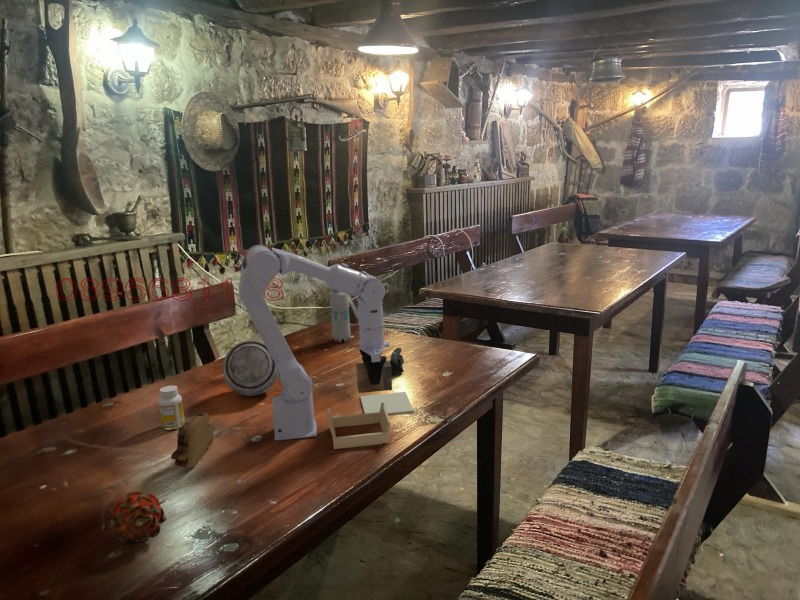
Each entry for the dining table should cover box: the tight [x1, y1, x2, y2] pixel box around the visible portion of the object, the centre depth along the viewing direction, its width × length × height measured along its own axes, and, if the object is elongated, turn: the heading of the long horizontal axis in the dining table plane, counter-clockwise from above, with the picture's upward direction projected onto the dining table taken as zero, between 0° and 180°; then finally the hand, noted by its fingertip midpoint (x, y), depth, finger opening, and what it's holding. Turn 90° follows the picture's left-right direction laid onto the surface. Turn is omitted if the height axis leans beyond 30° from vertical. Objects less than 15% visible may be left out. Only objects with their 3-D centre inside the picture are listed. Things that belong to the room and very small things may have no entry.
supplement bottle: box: [157, 385, 186, 428], centre depth 145 cm, size 5×5×10 cm
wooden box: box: [326, 403, 392, 450], centre depth 138 cm, size 13×11×5 cm
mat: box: [359, 391, 415, 416], centre depth 154 cm, size 12×12×1 cm
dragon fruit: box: [101, 490, 167, 543], centre depth 104 cm, size 8×8×12 cm
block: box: [355, 360, 393, 394], centre depth 145 cm, size 8×4×6 cm, turn 99°
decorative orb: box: [222, 339, 279, 397], centre depth 163 cm, size 15×14×15 cm
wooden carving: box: [170, 412, 216, 469], centre depth 128 cm, size 16×5×10 cm, turn 178°
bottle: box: [329, 290, 352, 343], centre depth 205 cm, size 7×7×20 cm
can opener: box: [389, 347, 405, 376], centre depth 180 cm, size 18×7×6 cm, turn 171°
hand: (373, 380), depth 145 cm, fingers closed on block, 4 cm apart
